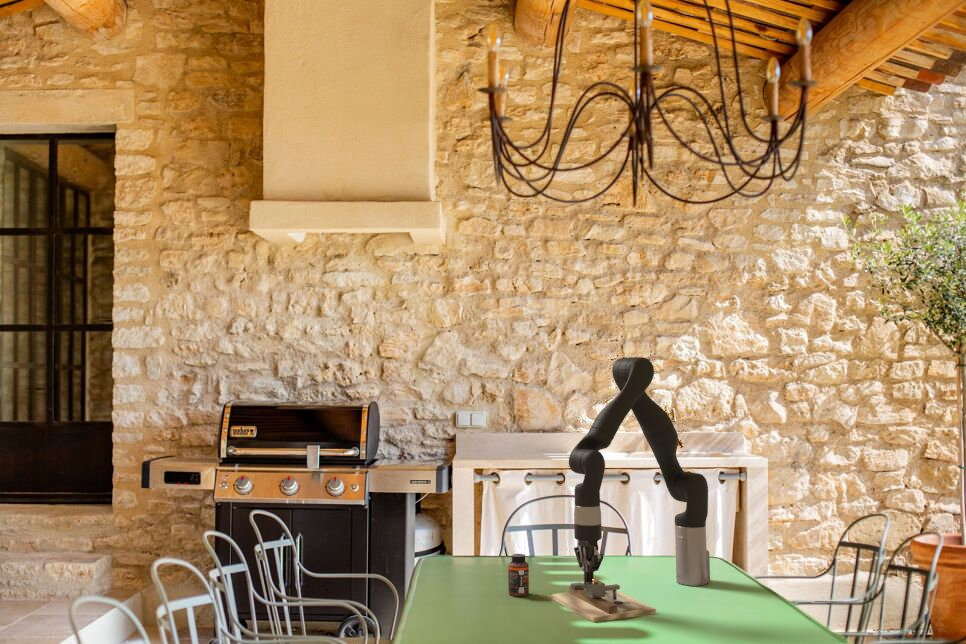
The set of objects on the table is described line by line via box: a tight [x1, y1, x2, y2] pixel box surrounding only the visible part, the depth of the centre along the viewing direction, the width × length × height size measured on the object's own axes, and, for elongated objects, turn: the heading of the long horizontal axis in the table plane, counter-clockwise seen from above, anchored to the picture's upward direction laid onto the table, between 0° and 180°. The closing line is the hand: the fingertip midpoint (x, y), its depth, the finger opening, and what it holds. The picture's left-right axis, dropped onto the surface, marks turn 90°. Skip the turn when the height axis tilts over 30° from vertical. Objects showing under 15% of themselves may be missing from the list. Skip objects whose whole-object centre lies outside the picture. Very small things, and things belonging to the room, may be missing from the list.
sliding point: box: [585, 577, 621, 600], centre depth 217 cm, size 9×4×6 cm, turn 112°
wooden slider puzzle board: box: [550, 585, 657, 623], centre depth 219 cm, size 19×24×3 cm
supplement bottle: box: [507, 553, 530, 598], centre depth 232 cm, size 6×6×11 cm
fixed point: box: [570, 582, 586, 590], centre depth 227 cm, size 9×2×3 cm, turn 112°
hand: (588, 585), depth 220 cm, fingers closed
